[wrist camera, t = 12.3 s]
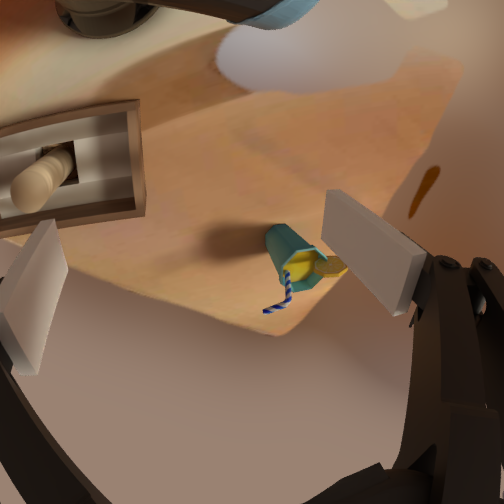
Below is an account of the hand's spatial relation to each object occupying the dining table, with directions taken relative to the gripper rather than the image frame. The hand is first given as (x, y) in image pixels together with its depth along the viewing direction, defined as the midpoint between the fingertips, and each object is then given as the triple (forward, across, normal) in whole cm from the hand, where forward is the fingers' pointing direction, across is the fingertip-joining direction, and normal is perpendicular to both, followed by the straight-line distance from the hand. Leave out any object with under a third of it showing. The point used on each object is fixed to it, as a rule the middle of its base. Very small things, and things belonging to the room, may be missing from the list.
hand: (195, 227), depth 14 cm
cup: (+32, +16, -19) cm, 40 cm away
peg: (+32, -16, -2) cm, 36 cm away
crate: (+32, -16, -2) cm, 36 cm away
